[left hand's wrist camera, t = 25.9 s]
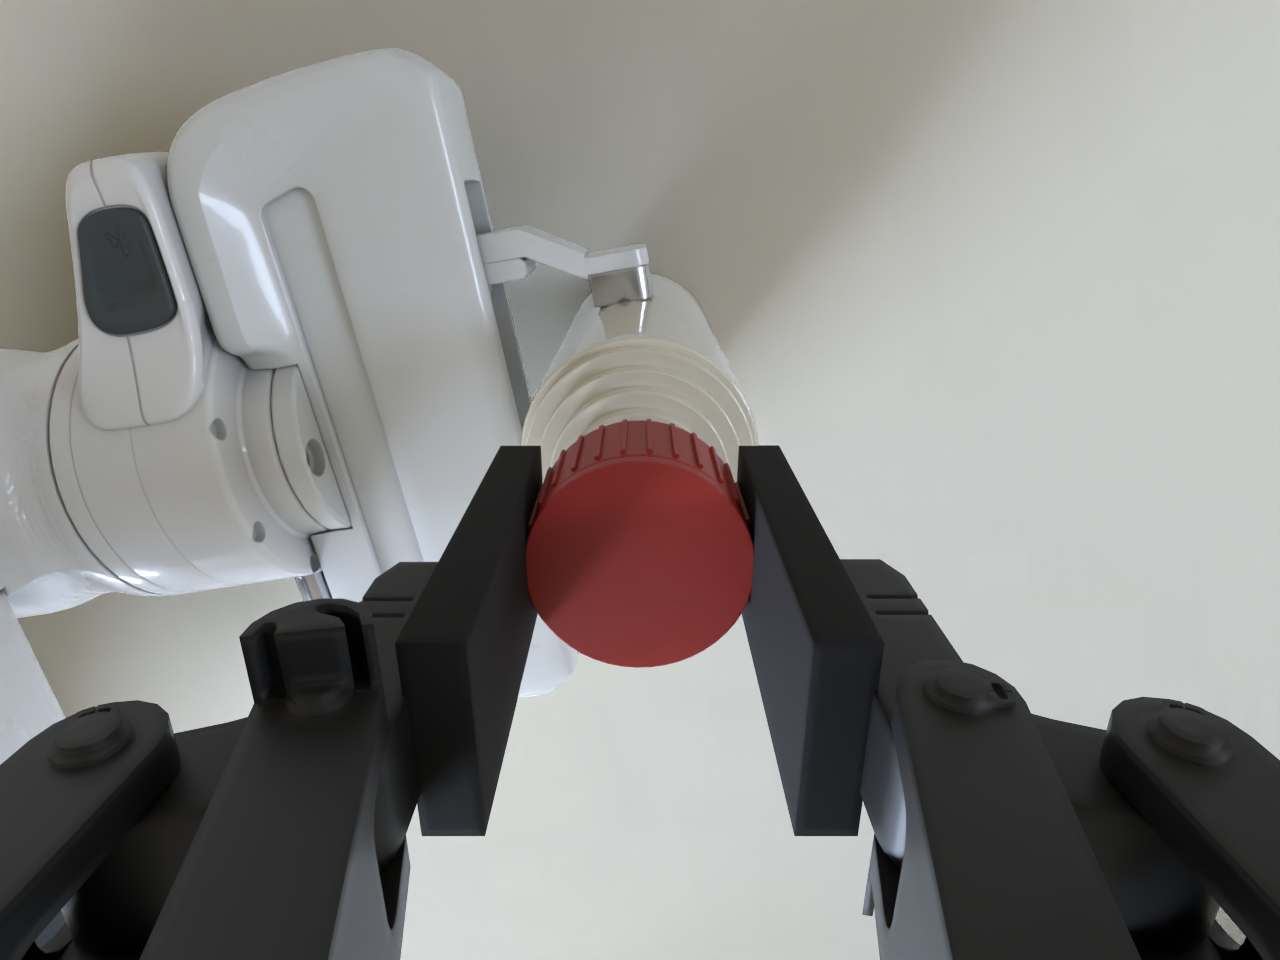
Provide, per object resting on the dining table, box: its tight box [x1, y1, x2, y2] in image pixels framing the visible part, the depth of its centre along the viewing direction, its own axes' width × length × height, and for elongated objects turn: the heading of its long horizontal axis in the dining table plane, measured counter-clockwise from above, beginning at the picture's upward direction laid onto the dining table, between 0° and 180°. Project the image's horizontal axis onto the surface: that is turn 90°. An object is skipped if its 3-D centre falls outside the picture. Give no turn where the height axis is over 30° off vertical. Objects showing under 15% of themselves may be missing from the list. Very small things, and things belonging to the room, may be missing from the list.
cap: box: [526, 419, 754, 667], centre depth 13 cm, size 4×4×2 cm
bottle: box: [521, 274, 758, 483], centre depth 21 cm, size 6×6×18 cm
